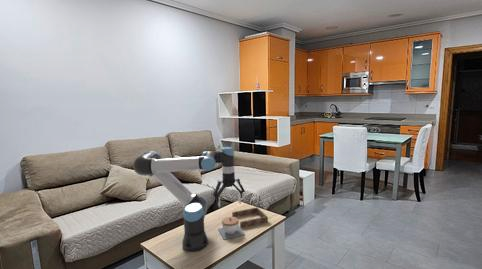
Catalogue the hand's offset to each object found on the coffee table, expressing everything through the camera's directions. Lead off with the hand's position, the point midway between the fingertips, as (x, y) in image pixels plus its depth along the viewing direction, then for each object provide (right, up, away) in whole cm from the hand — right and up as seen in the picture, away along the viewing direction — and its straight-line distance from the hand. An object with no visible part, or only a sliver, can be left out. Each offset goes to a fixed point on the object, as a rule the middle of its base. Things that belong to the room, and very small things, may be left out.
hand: (229, 204), depth 170 cm
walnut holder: (+14, -15, +19) cm, 28 cm away
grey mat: (+1, -18, +3) cm, 19 cm away
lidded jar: (+1, -18, +3) cm, 18 cm away
